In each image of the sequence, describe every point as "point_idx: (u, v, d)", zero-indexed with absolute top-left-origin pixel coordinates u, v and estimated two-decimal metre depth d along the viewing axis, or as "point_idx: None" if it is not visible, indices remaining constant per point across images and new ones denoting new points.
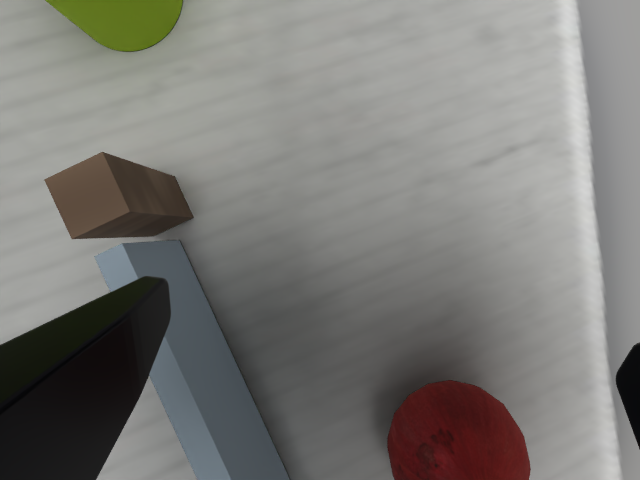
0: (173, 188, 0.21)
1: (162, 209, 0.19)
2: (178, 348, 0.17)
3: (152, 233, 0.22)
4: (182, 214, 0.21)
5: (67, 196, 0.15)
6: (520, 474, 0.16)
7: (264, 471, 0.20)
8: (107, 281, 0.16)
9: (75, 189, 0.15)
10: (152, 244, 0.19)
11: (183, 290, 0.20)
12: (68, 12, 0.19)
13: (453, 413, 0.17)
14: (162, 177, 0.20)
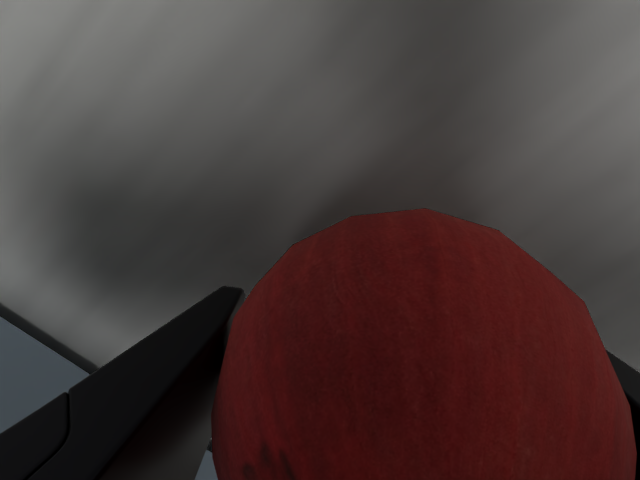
0: None
1: None
2: None
3: None
4: None
5: None
6: None
7: None
8: None
9: None
10: None
11: None
12: None
13: (304, 377, 0.04)
14: None
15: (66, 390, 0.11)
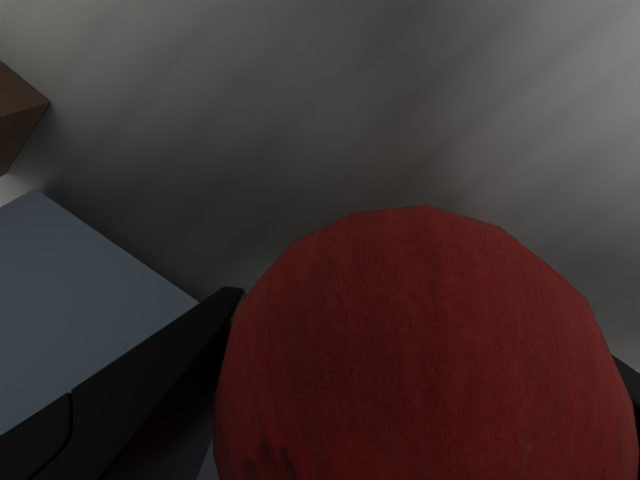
0: None
1: None
2: None
3: None
4: None
5: None
6: None
7: None
8: None
9: None
10: None
11: (74, 311, 0.09)
12: None
13: (305, 374, 0.04)
14: None
15: None
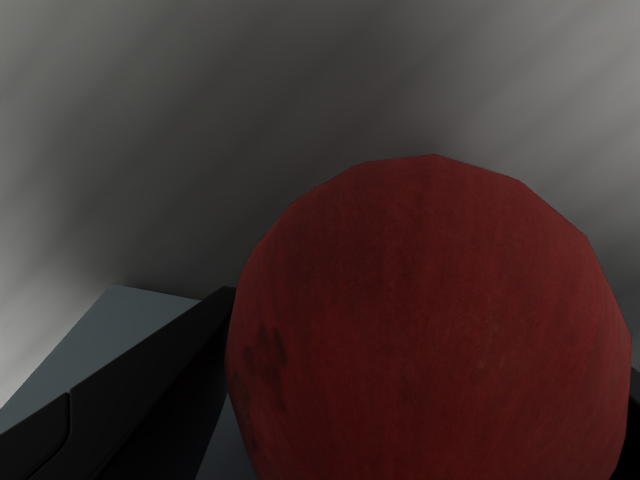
0: None
1: None
2: None
3: None
4: None
5: None
6: (571, 431, 0.04)
7: None
8: None
9: None
10: (30, 383, 0.08)
11: None
12: None
13: (300, 267, 0.05)
14: None
15: None
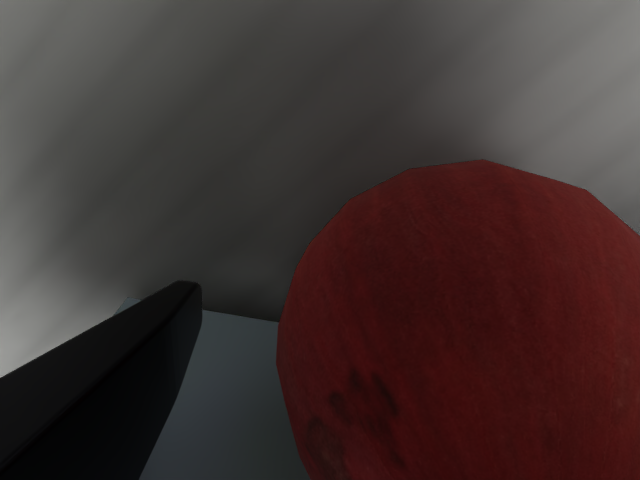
0: None
1: None
2: None
3: None
4: None
5: None
6: None
7: None
8: None
9: None
10: None
11: (193, 381, 0.09)
12: None
13: (394, 303, 0.04)
14: None
15: None
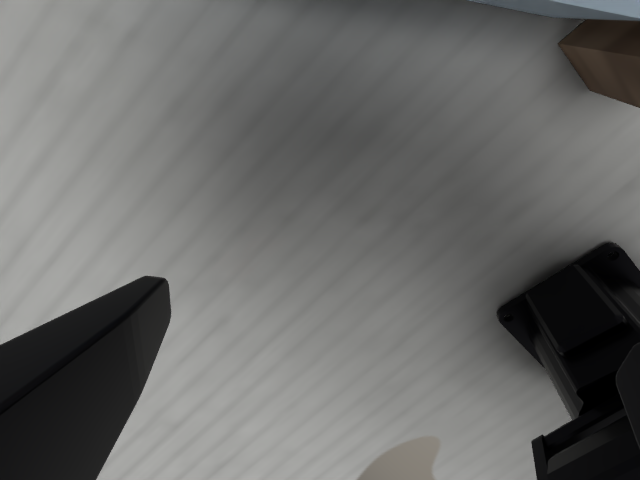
0: None
1: None
2: None
3: None
4: None
5: None
6: None
7: None
8: None
9: None
10: None
11: None
12: None
13: None
14: None
15: None
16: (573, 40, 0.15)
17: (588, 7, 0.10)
